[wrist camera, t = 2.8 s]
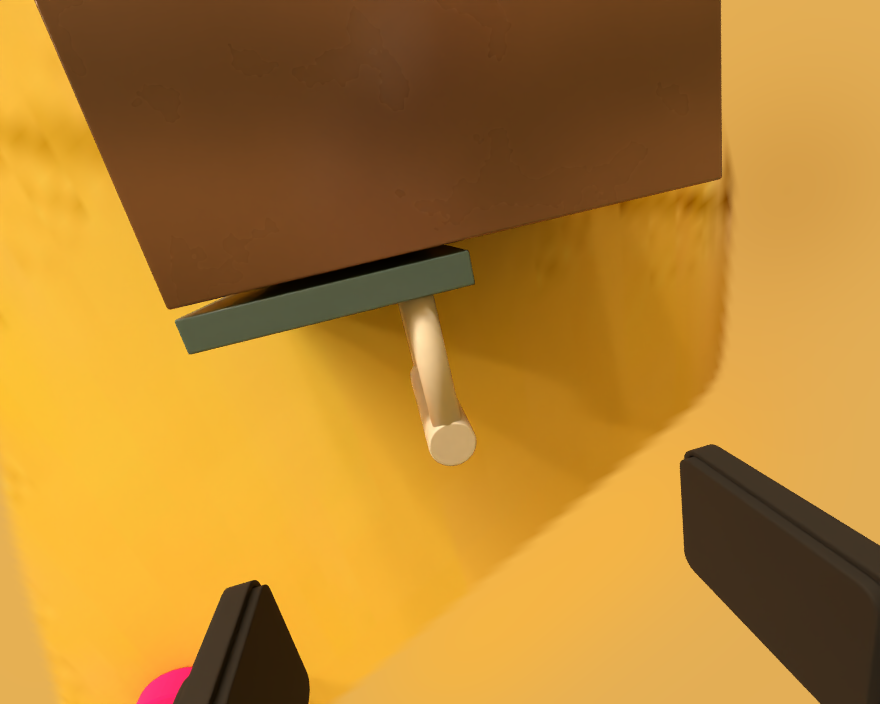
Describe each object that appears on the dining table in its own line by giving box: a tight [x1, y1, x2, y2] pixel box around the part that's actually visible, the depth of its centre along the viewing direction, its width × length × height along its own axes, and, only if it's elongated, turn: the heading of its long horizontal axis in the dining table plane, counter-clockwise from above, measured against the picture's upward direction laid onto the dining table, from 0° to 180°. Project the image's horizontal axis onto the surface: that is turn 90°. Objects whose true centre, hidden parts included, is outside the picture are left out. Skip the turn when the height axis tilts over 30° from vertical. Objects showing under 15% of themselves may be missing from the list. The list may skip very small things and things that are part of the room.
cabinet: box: [34, 0, 722, 309], centre depth 15 cm, size 8×16×10 cm, turn 103°
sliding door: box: [175, 245, 477, 466], centre depth 17 cm, size 7×8×10 cm
